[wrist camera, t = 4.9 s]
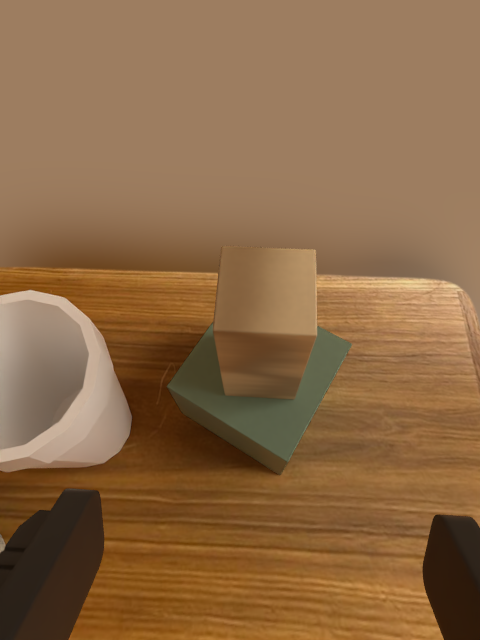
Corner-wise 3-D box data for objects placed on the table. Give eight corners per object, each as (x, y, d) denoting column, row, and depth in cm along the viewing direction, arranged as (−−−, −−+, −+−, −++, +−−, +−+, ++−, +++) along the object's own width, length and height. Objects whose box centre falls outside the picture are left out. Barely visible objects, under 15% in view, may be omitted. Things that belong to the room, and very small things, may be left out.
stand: (334, 377, 35) (352, 343, 29) (280, 475, 32) (287, 462, 25) (241, 325, 37) (239, 284, 31) (181, 412, 34) (166, 386, 28)
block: (295, 335, 29) (316, 248, 20) (294, 400, 27) (317, 336, 18) (229, 332, 29) (221, 245, 20) (224, 396, 27) (212, 330, 18)
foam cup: (114, 348, 36) (51, 262, 25) (174, 434, 33) (133, 383, 21) (12, 415, 34) (-112, 356, 22) (65, 516, 31) (-48, 508, 19)
